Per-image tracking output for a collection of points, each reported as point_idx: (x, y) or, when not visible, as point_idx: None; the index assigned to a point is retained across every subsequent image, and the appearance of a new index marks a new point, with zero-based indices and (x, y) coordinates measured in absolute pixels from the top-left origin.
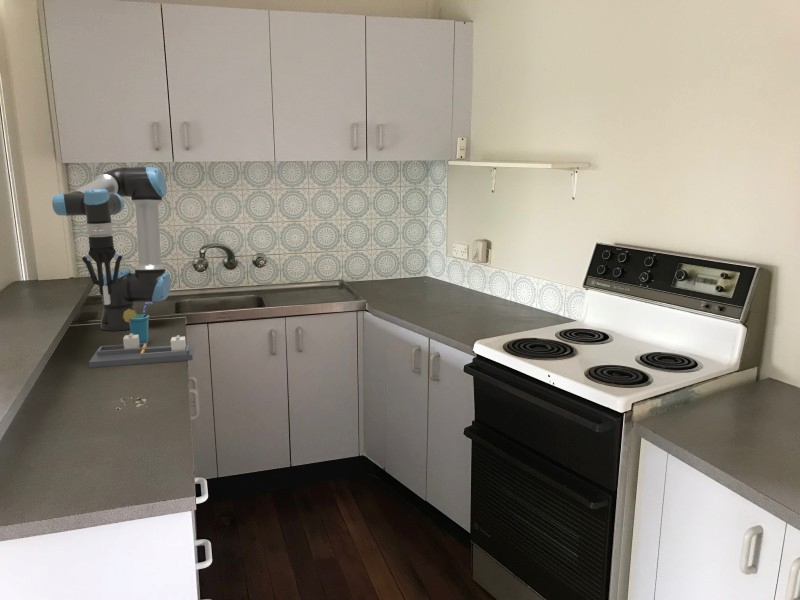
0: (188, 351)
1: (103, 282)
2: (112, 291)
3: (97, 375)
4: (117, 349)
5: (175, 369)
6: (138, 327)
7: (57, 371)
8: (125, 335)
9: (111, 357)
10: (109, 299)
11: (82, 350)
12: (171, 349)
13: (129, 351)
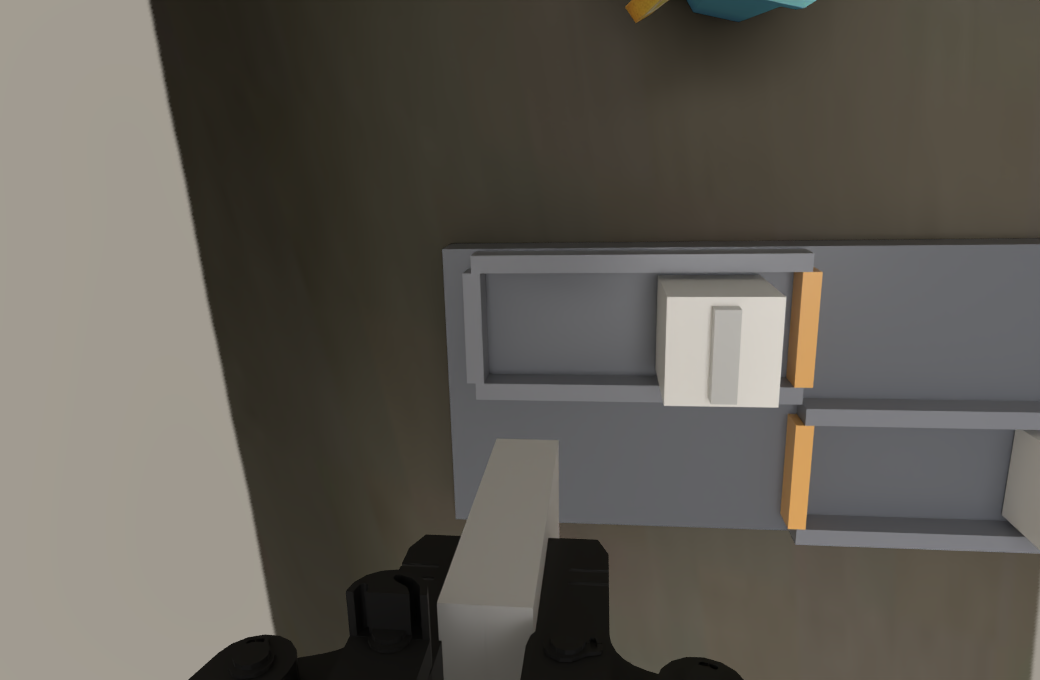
0: None
1: (425, 676)
2: (608, 575)
3: None
4: (610, 386)
5: (988, 671)
6: (768, 5)
7: (297, 515)
8: (670, 299)
9: (580, 457)
10: (554, 517)
11: (305, 61)
12: (1024, 534)
13: None
